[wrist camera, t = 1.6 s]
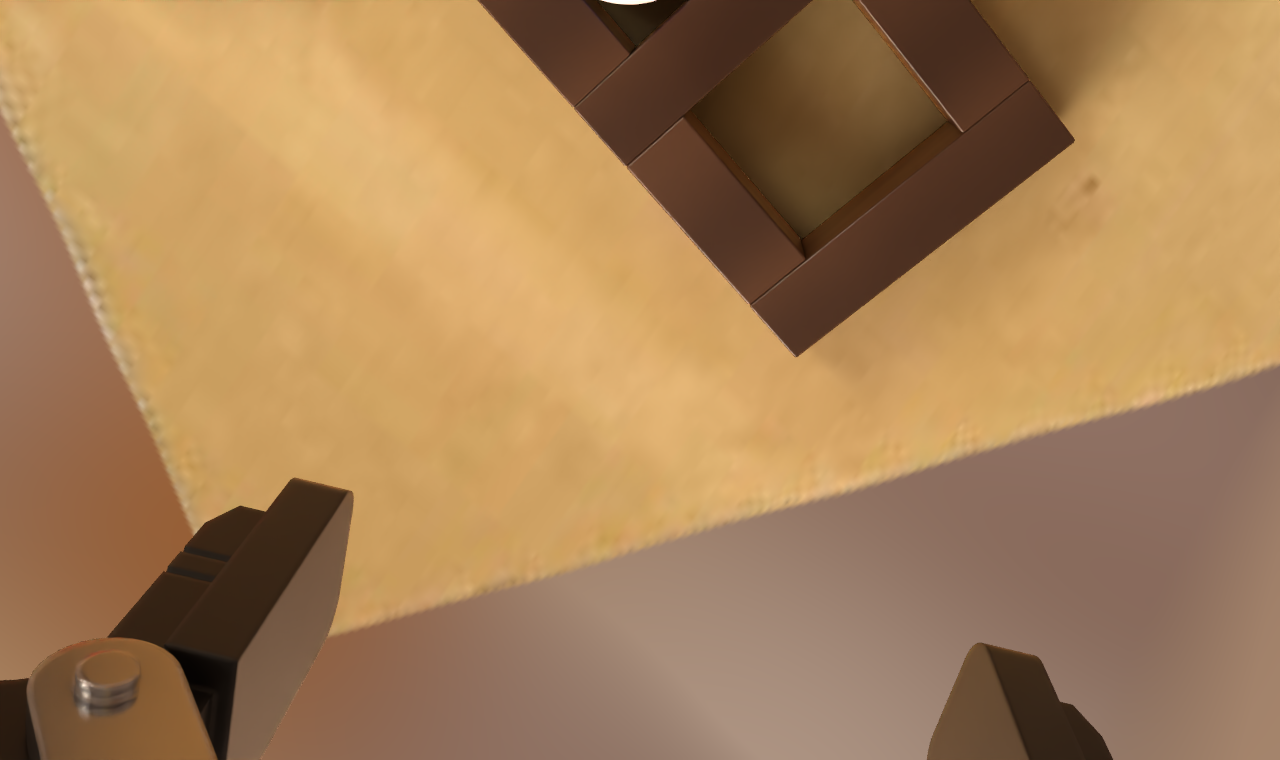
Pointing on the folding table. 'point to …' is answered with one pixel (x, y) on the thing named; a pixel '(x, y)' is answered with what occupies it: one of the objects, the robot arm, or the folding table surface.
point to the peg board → (728, 200)
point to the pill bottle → (628, 1)
